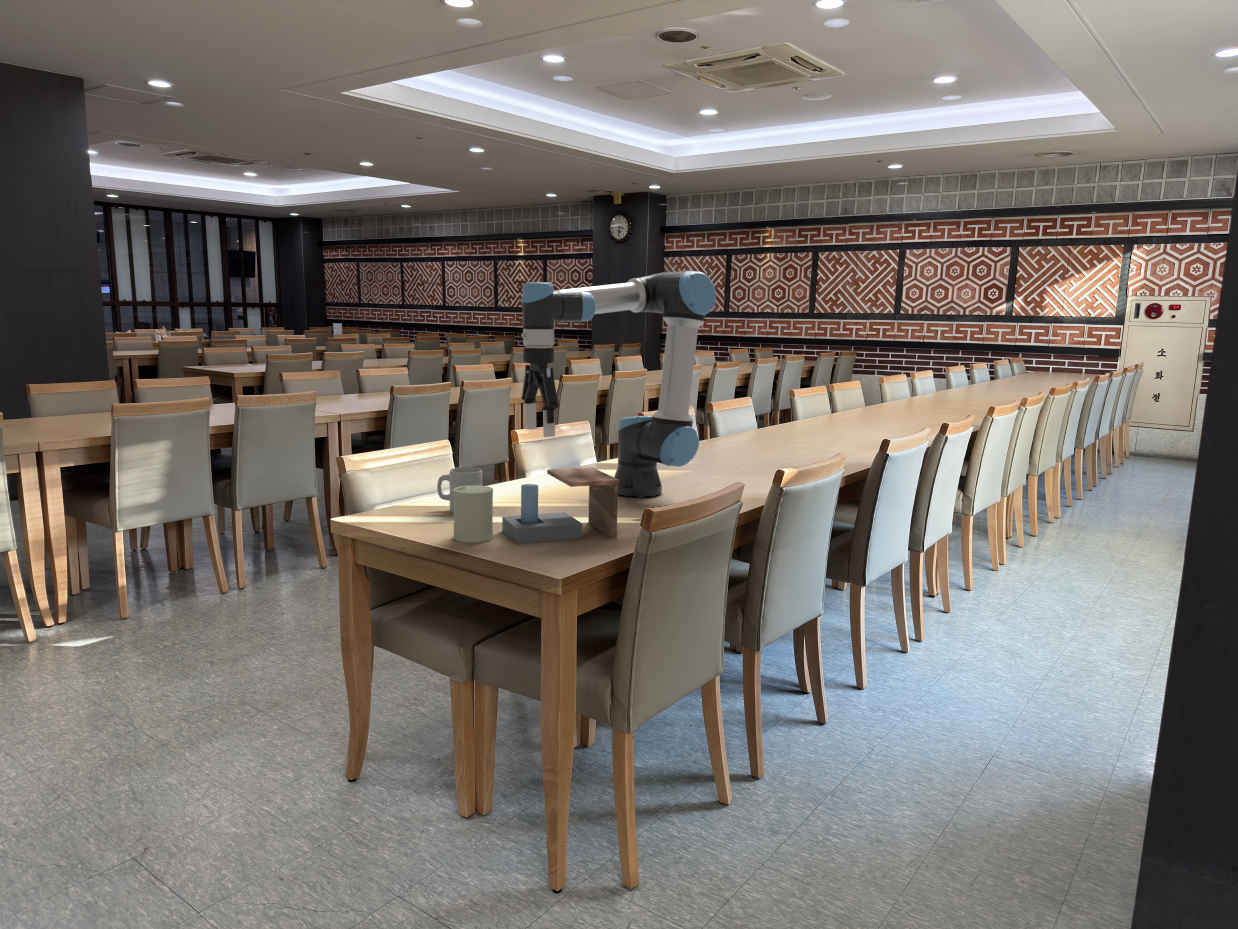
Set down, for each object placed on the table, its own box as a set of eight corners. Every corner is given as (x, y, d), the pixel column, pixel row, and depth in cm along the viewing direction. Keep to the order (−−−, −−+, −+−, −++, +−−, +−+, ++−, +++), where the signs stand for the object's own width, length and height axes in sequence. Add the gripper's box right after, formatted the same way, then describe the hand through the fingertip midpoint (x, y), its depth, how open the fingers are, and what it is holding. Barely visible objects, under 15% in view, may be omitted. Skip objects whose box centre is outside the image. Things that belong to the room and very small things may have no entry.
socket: (565, 526, 205) (565, 512, 205) (582, 538, 195) (582, 523, 194) (502, 530, 199) (502, 516, 199) (516, 543, 188) (516, 528, 188)
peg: (534, 532, 198) (535, 483, 196) (539, 536, 195) (540, 486, 193) (518, 534, 197) (519, 484, 195) (523, 538, 193) (523, 487, 191)
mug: (486, 508, 222) (486, 467, 221) (477, 515, 214) (477, 473, 212) (442, 505, 224) (442, 465, 222) (432, 512, 215) (431, 471, 213)
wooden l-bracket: (591, 521, 211) (592, 467, 208) (617, 538, 195) (619, 479, 193) (546, 524, 206) (547, 469, 204) (569, 542, 191) (570, 482, 188)
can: (455, 532, 197) (455, 483, 194) (494, 532, 197) (494, 483, 195) (451, 542, 187) (450, 491, 185) (492, 543, 188) (492, 491, 186)
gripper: (508, 344, 212) (510, 426, 216) (541, 349, 190) (542, 441, 194) (536, 344, 215) (537, 425, 219) (571, 349, 193) (572, 438, 197)
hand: (539, 432), depth 206 cm, fingers open, 13 cm apart
